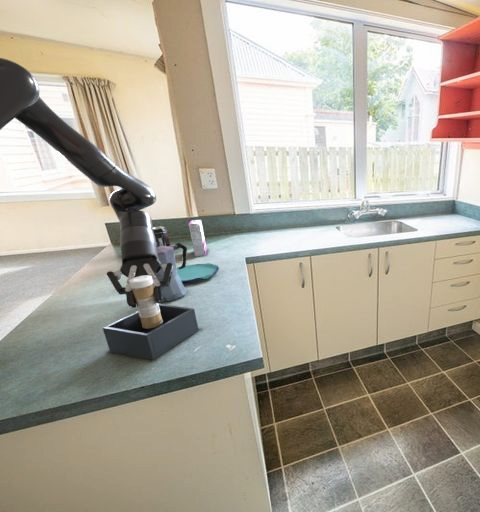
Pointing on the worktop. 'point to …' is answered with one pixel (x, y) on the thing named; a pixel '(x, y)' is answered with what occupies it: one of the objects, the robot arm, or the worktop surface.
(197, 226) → the candy bar box
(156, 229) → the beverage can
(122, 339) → the open box
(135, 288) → the sprinkles bottle
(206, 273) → the teal oval tray
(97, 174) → the robot arm
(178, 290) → the moka pot
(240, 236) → the worktop surface
